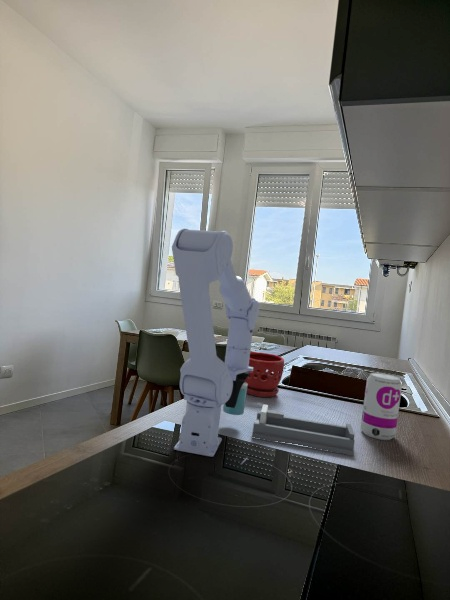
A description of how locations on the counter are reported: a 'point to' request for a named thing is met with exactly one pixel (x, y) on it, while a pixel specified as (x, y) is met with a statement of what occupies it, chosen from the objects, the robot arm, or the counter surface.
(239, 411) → the jar
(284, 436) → the lane
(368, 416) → the supplement can
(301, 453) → the counter surface
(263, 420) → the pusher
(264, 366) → the plant pot
